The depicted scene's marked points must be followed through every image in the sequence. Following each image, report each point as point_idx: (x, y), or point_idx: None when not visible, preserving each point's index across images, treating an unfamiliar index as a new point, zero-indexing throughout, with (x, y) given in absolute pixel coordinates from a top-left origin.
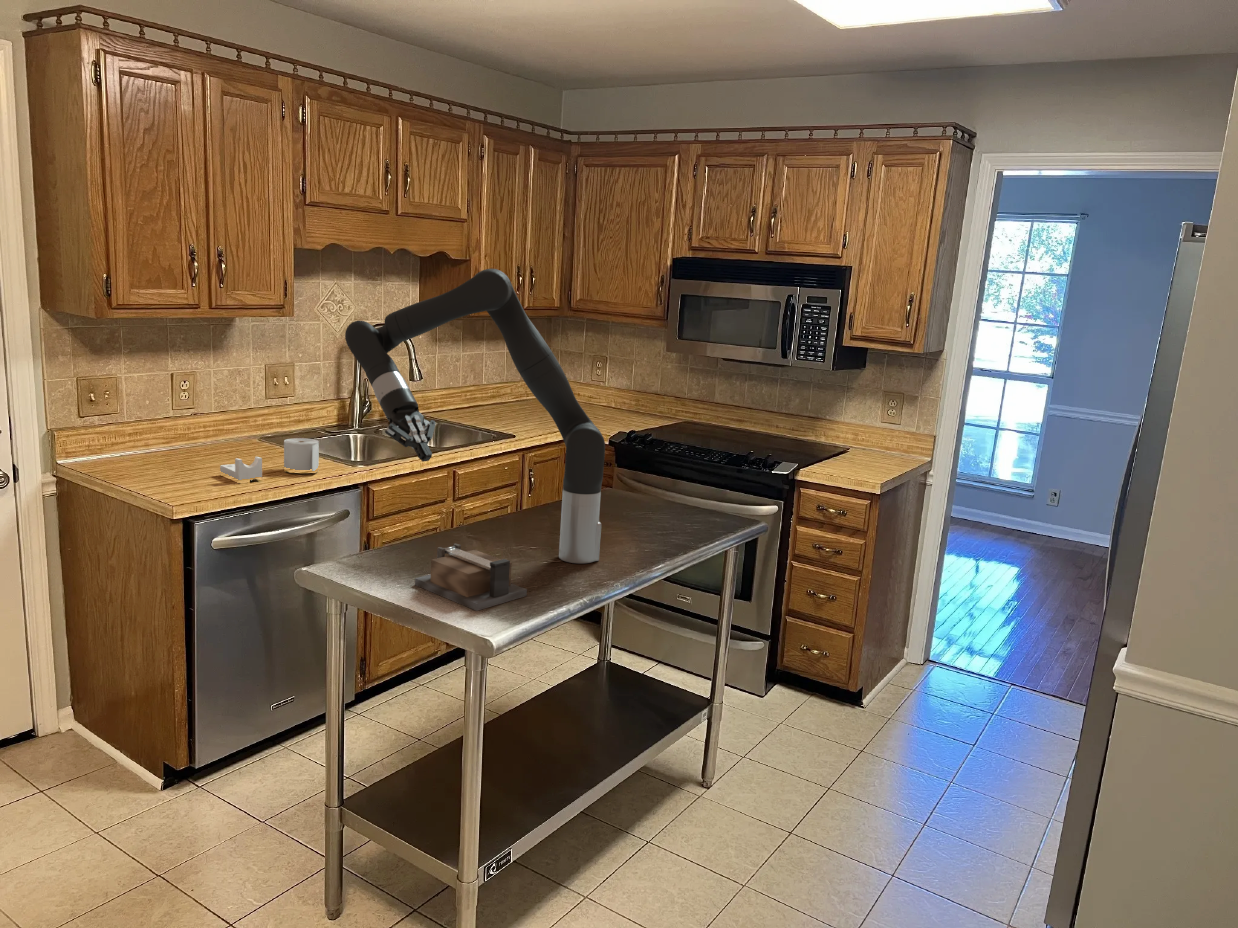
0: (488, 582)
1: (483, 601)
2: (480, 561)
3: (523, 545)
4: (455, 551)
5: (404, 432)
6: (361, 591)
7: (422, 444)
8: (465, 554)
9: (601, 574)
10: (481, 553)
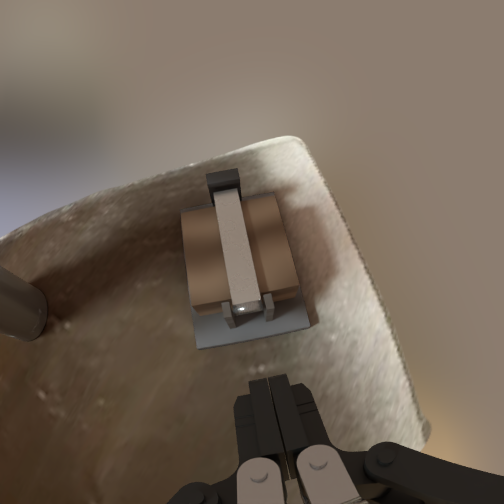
0: None
1: (261, 194)
2: (234, 217)
3: (48, 412)
4: (245, 284)
5: (433, 491)
6: (391, 332)
7: (290, 439)
8: (237, 260)
9: (52, 244)
10: (193, 279)
